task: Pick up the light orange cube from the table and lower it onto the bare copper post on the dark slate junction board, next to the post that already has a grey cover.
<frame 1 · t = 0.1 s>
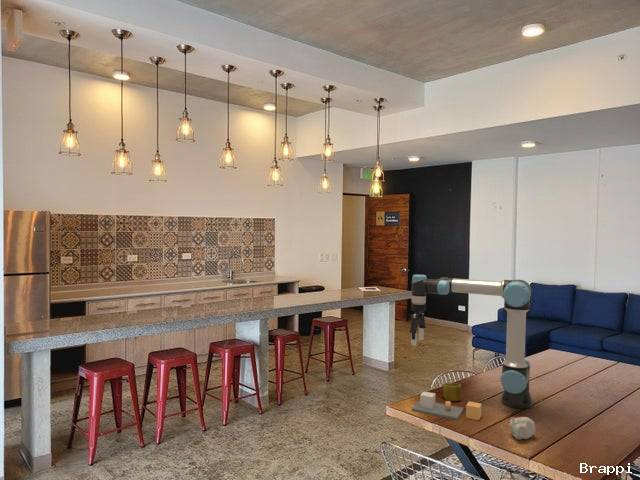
hand: (417, 342, 258), 28 cm above the table, fingers open, 13 cm apart
white lumpy piece: (520, 436, 209), on the table
junction board: (437, 410, 236), on the table
mug: (451, 398, 253), on the table
light orange cube: (473, 416, 229), on the table
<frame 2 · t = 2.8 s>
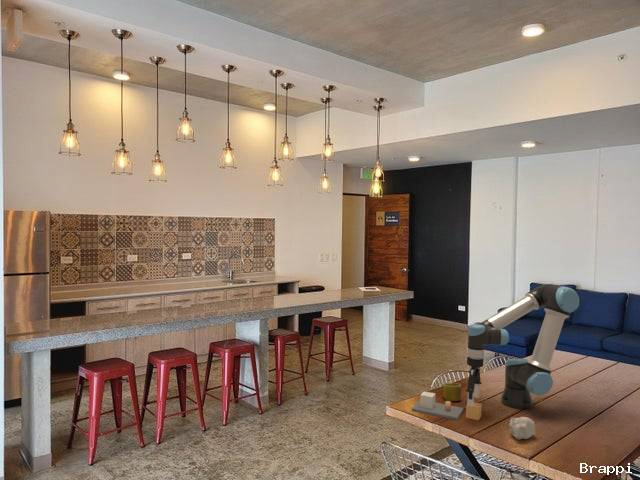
hand: (473, 401, 228), 7 cm above the table, fingers open, 13 cm apart
nothing on the table moved.
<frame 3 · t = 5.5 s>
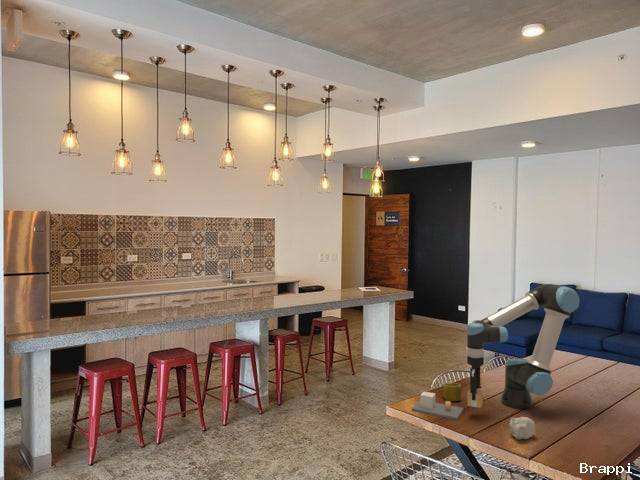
hand: (475, 404, 229), 6 cm above the table, fingers closed on light orange cube, 6 cm apart
light orange cube: (475, 404, 229), point 6 cm above the table, touching gripper
everything else where it was.
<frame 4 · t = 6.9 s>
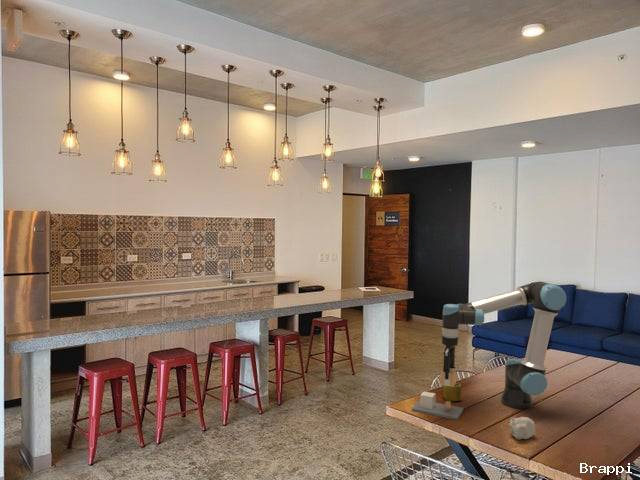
hand: (448, 383, 233), 14 cm above the table, fingers closed on light orange cube, 6 cm apart
light orange cube: (448, 384, 233), point 14 cm above the table, touching gripper
everything else where it was.
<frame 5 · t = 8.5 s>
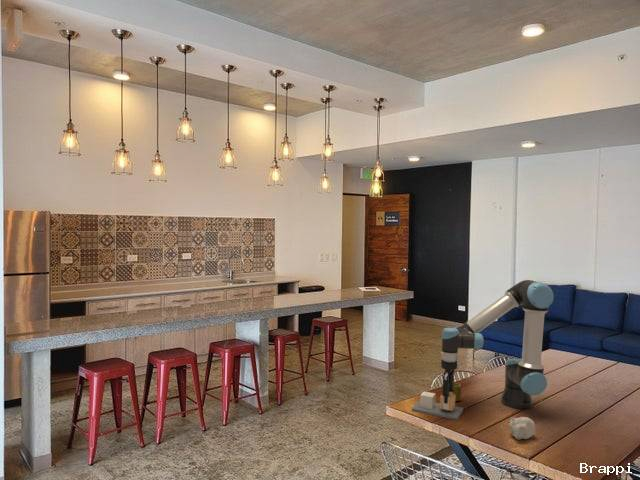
hand: (447, 407, 233), 3 cm above the table, fingers closed on light orange cube, 6 cm apart
light orange cube: (447, 407, 234), point 2 cm above the table, touching gripper
everything else where it was.
when the fingers open (1 cm above the table, at t = 9.7 s): light orange cube stays where it is, resting on junction board.
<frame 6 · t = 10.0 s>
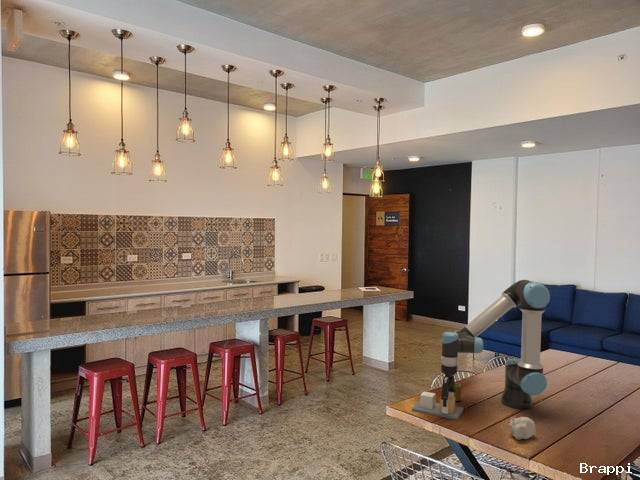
hand: (447, 409, 233), 2 cm above the table, fingers open, 11 cm apart
light orange cube: (447, 410, 234), point 1 cm above the table, touching junction board
everything else where it was.
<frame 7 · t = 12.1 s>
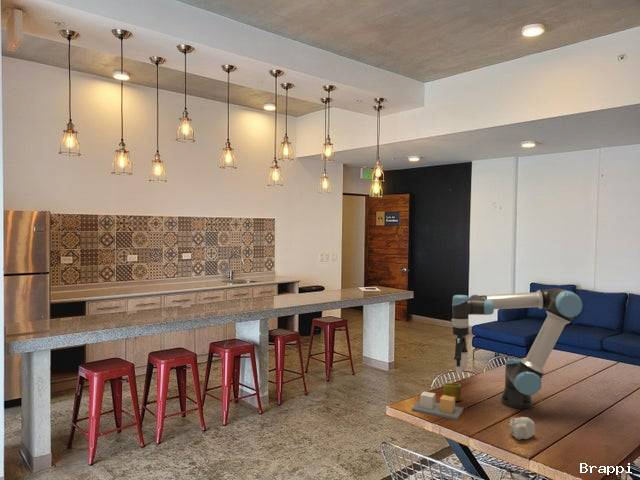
hand: (461, 369, 238), 20 cm above the table, fingers open, 13 cm apart
nothing on the table moved.
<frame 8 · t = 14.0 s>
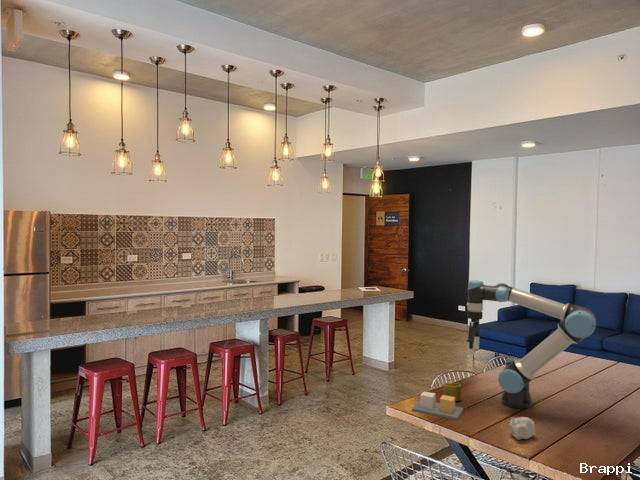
hand: (473, 351, 246), 27 cm above the table, fingers open, 13 cm apart
nothing on the table moved.
at the end: light orange cube 0.3 cm from the target spot on the junction board, point 1.2 cm above the junction board's base; light orange cube tilted 0°; the gripper is holding nothing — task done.
